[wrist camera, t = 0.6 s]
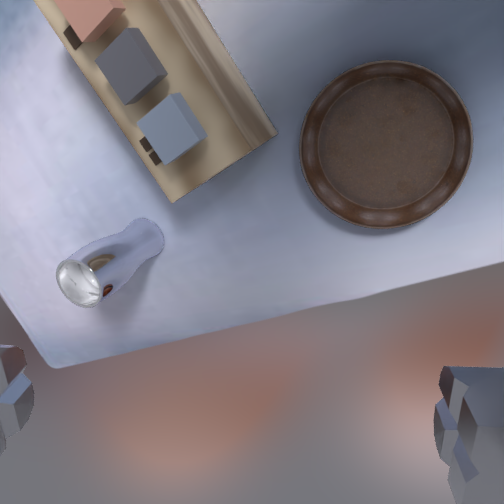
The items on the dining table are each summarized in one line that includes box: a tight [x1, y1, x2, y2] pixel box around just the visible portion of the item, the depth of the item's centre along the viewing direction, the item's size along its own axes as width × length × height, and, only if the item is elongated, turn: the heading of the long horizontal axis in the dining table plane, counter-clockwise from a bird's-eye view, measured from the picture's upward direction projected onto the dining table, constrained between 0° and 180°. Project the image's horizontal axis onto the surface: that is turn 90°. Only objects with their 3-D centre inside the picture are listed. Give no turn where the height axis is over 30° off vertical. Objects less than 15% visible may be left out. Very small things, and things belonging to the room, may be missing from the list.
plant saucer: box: [299, 60, 473, 229], centre depth 49 cm, size 18×18×3 cm
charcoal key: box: [95, 28, 168, 106], centre depth 45 cm, size 5×5×2 cm
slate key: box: [137, 92, 208, 165], centre depth 46 cm, size 5×5×2 cm
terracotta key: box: [54, 0, 126, 42], centre depth 43 cm, size 5×5×2 cm
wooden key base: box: [34, 0, 278, 203], centre depth 51 cm, size 12×26×9 cm, turn 36°
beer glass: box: [56, 218, 164, 308], centre depth 61 cm, size 7×7×15 cm
